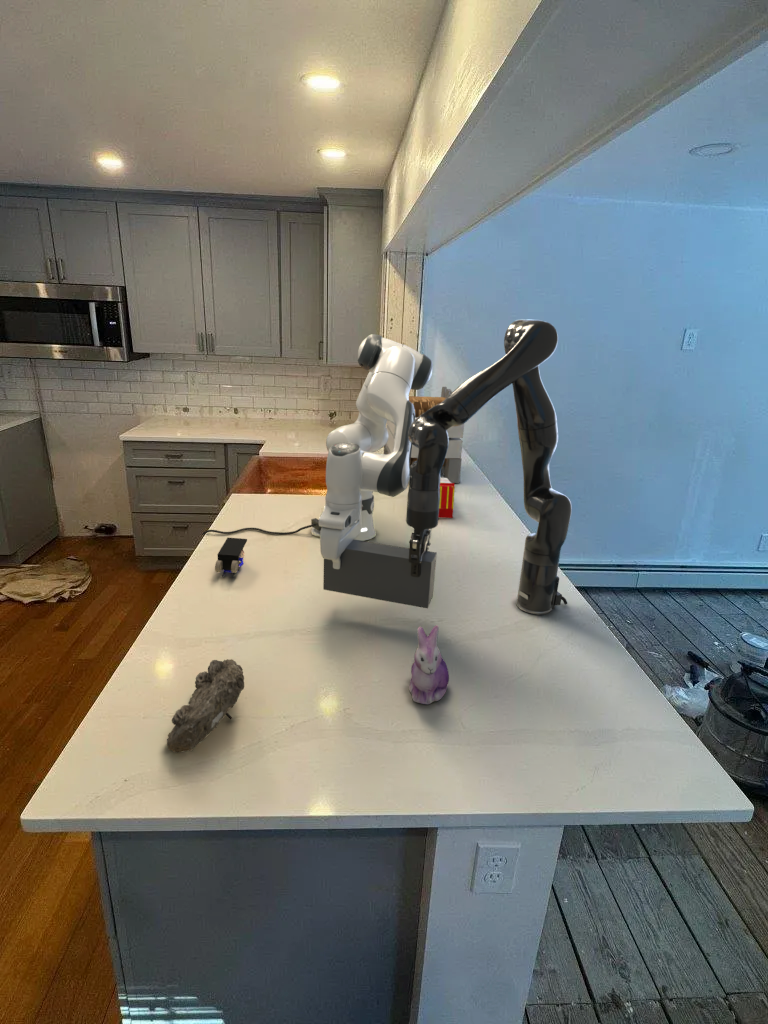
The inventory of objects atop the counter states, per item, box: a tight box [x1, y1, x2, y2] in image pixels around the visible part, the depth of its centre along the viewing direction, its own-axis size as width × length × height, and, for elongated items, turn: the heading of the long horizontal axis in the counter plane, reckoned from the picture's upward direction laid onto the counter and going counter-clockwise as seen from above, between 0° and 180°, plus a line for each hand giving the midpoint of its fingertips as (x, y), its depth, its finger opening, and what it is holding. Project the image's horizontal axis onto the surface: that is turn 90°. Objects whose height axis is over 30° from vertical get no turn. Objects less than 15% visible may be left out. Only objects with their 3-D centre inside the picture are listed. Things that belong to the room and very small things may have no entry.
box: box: [323, 540, 438, 609], centre depth 141 cm, size 27×6×12 cm, turn 74°
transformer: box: [383, 386, 465, 484], centre depth 268 cm, size 34×33×41 cm
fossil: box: [166, 658, 245, 754], centre depth 106 cm, size 22×10×15 cm
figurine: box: [408, 624, 450, 705], centre depth 115 cm, size 9×10×15 cm
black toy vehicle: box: [214, 537, 248, 578], centre depth 166 cm, size 7×8×15 cm
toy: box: [438, 477, 456, 519], centre depth 228 cm, size 12×13×30 cm
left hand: (342, 561), depth 143 cm, fingers closed on box, 6 cm apart
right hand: (418, 570), depth 137 cm, fingers closed on box, 6 cm apart
